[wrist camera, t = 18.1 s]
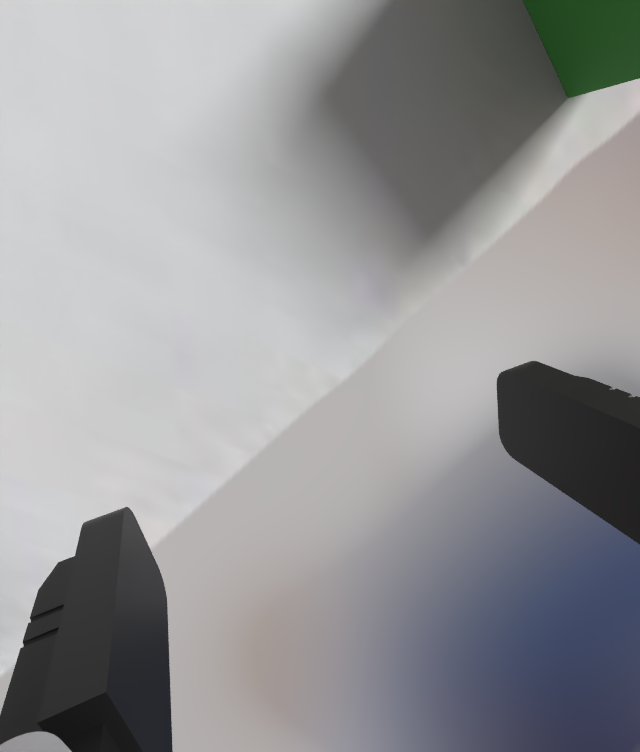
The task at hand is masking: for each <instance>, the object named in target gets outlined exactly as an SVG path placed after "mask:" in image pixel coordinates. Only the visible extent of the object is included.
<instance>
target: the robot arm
mask: <svg viewBox="0 0 640 752" xmlns="http://www.w3.org/2000/svg"><path fill="white" fill-rule="evenodd" d="M497 400H498V419H499V435H500V439H501V442H502V444H503V446H504V448H505V449H506V451H507V452H508V453H509V455H510V456H512V458H514V459H515V460H516V461H518V462H519V463H521V464H522V465H524V466H525V467H527V468H528V469H530V470H531V471H533V472H534V473H536V474H537V475H538V476H540V477H541V478H543V479H544V480H546V481H547V482H549V483H550V484H552V485H553V486H555V487H556V488H558V489H559V490H561V491H562V492H563V493H565V494H566V495H568V496H569V497H571V498H572V499H574V500H575V501H577V502H578V503H580V504H581V505H583V506H584V507H586V508H587V509H589V510H590V511H592V512H593V513H594V514H596V515H598V516H599V517H600V518H602V519H603V520H605V521H606V522H608V523H609V524H611V525H612V526H614V527H615V528H617V529H618V530H619V531H621V532H623V533H624V534H625V535H627V536H628V537H630V538H631V539H633V540H634V541H636V542H637V543H639V544H640V397H637V396H636V397H632V395H631V394H629V393H627V392H624V391H621V390H619V389H615V390H613V389H612V387H610V386H608V385H605V384H603V383H600V382H597V381H595V380H592V379H589V378H585V377H579V376H574V375H571V374H568V373H566V372H563V371H561V370H558V369H555V368H553V367H550V366H547V365H545V364H542V363H540V362H537V361H530V362H527V363H525V364H522V365H519V366H517V367H514V368H511V369H508V370H505V371H503V372H501V373H500V374H499V376H498V378H497ZM30 619H31V623H28V626H27V629H26V633H25V636H24V639H23V644H24V647H23V648H21V649H20V652H19V656H18V659H17V662H16V665H15V669H14V672H13V675H12V678H11V682H10V685H9V688H8V692H7V695H6V699H5V701H4V705H3V708H2V711H1V715H0V752H172V731H171V730H172V727H171V701H170V700H171V698H170V672H169V643H168V614H167V597H166V591H165V587H164V582H163V579H162V576H161V573H160V570H159V568H158V565H157V563H156V561H155V559H154V557H153V555H152V552H151V550H150V548H149V546H148V544H147V542H146V539H145V537H144V535H143V533H142V531H141V529H140V527H139V524H138V522H137V520H136V518H135V516H134V514H133V512H132V511H131V509H130V508H128V507H125V508H123V509H120V510H117V511H114V512H112V513H109V514H106V515H103V516H101V517H98V518H95V519H92V520H90V521H87V522H85V523H83V525H82V528H81V532H80V537H79V541H78V546H77V550H76V554H75V556H74V557H72V558H69V559H66V560H64V561H61V562H58V564H57V565H56V567H55V568H54V569H53V571H52V572H51V573H50V575H49V576H48V578H47V579H46V580H45V582H44V583H43V585H42V586H41V587H40V589H39V590H38V593H37V597H36V600H35V603H34V606H33V610H32V613H31V616H30Z"/></svg>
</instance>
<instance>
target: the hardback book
mask: <svg viewBox="0 0 640 752" xmlns="http://www.w3.org/2000/svg"><path fill="white" fill-rule="evenodd" d="M523 2H524V4H525V6H526V8H527V10H528V12H529V15H530V17H531V19H532V21H533V23H534V25H535V27H536V30H537V32H538V34H539V36H540V38H541V40H542V43H543V45H544V47H545V49H546V51H547V53H548V55H549V58H550V60H551V62H552V64H553V66H554V68H555V70H556V73H557V75H558V77H559V79H560V81H561V83H562V85H563V88H564V90H565V92H566V94H567V96H568V98H570V97H574V96H578V95H581V94H585V93H588V92H592V91H595V90H599V89H603V88H606V87H610V86H613V85H617V84H620V83H624V82H628V81H631V80H635V79H638V78H640V0H523Z"/></svg>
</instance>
